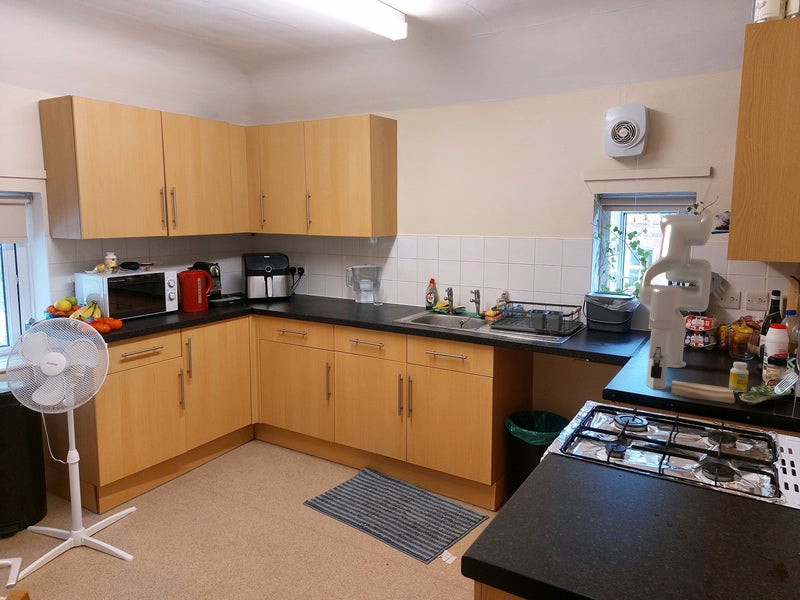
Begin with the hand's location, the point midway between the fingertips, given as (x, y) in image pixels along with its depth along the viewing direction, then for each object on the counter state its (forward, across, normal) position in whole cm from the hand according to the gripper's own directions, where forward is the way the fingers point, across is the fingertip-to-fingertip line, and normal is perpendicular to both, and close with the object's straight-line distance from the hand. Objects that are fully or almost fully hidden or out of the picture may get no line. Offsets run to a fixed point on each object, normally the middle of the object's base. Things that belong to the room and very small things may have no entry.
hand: (656, 374), depth 198 cm
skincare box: (+4, 0, 0) cm, 4 cm away
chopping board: (+4, 0, +14) cm, 15 cm away
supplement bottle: (+4, -11, +25) cm, 28 cm away
